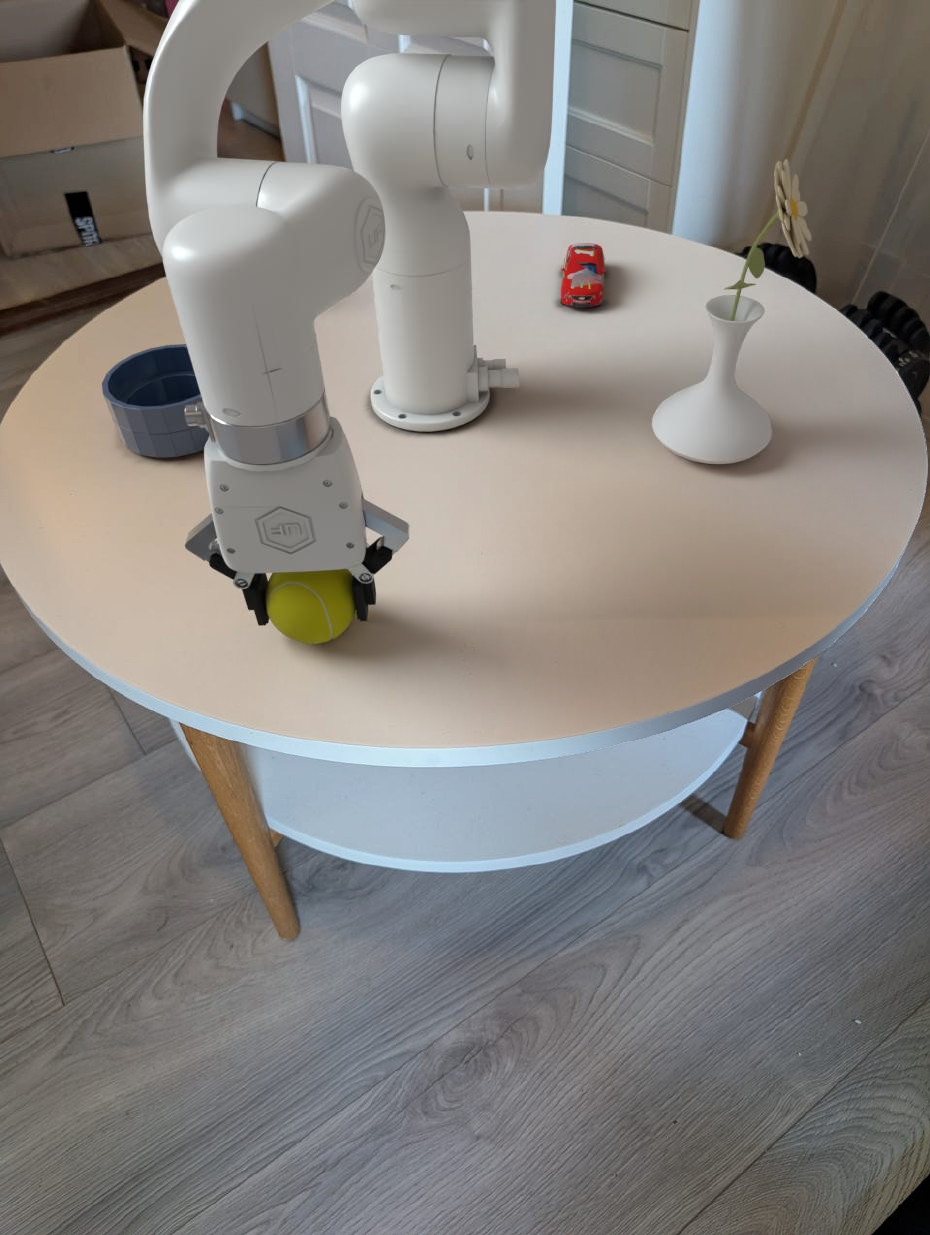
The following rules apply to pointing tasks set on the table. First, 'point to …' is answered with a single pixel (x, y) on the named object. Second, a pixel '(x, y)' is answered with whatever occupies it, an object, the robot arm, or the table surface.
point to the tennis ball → (311, 604)
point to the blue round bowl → (155, 402)
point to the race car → (583, 275)
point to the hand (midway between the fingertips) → (314, 609)
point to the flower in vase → (731, 359)
